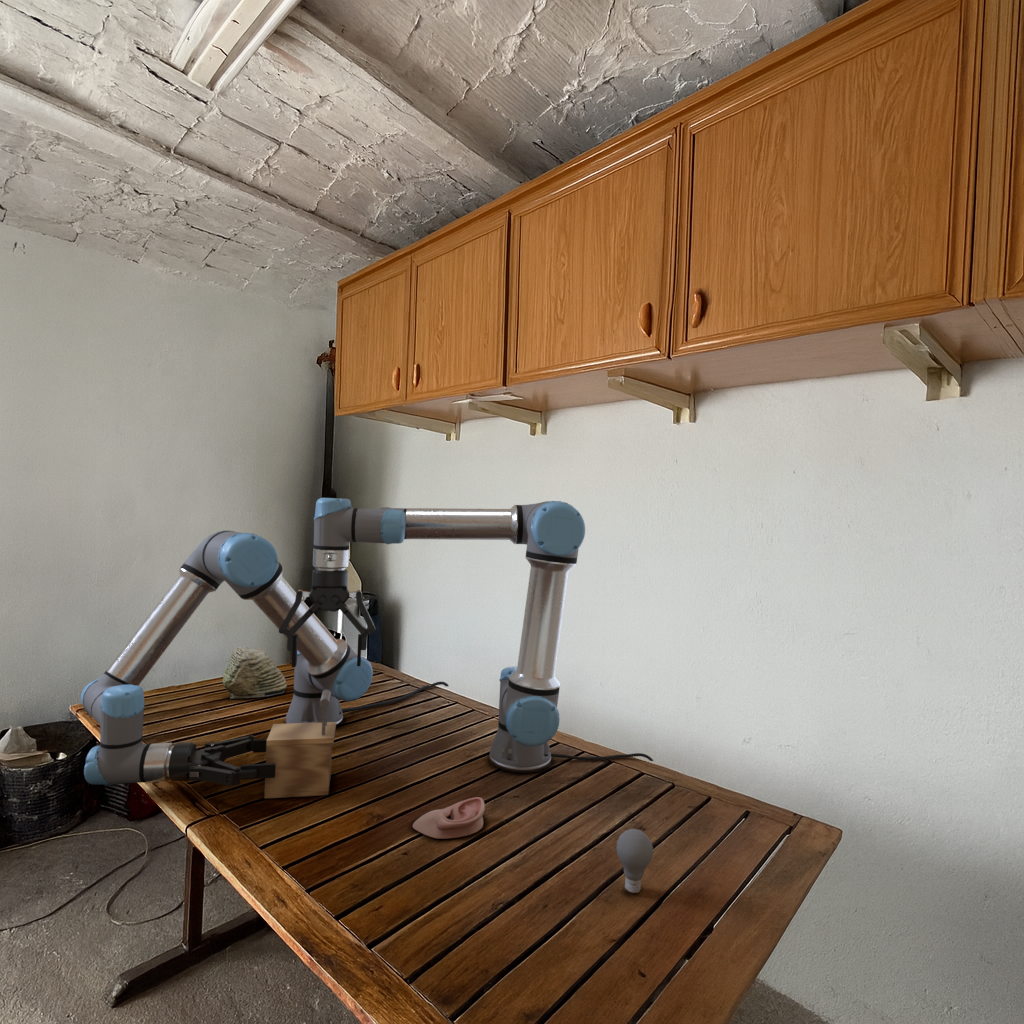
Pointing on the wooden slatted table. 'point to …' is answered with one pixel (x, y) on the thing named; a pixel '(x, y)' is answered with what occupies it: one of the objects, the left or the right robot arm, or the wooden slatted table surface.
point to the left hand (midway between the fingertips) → (279, 757)
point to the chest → (299, 770)
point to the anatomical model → (453, 820)
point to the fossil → (252, 674)
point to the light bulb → (634, 857)
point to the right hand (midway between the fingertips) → (326, 665)
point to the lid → (305, 729)
